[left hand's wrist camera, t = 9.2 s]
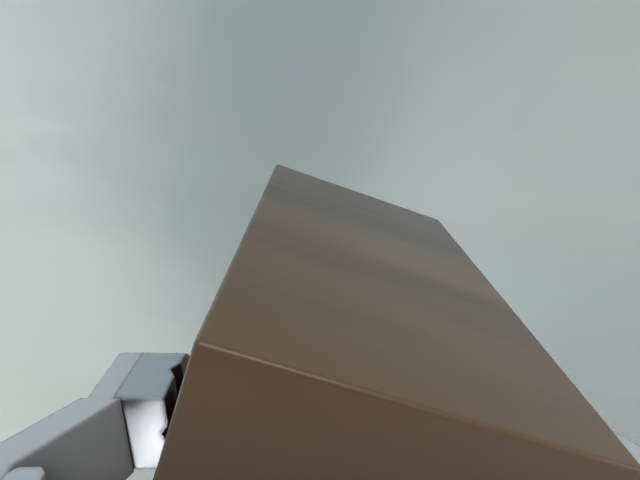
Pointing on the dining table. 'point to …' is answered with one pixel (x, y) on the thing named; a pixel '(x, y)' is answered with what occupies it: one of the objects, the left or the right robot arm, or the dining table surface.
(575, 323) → the dining table surface
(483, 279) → the bar
